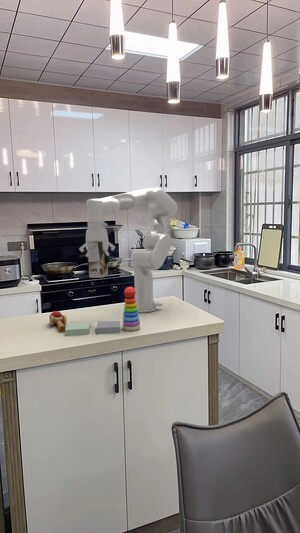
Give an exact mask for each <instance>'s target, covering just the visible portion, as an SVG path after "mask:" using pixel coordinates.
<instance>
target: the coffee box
mask: <svg viewBox="0 0 300 533" xmlns="http://www.w3.org/2000/svg"><path fill="white" fill-rule="evenodd" d="M87 252H88V261H89V265H88V277H89V278H92V279H93V278H94V279H95V278H97V279H98V278H100V279H101V278H104V277H105V276H108V275H109V272H108V271H109V268H108V267H109V266H108V265H109V264H108V265H107V264H106V253H105V252H104V250H103V242H88V251H87Z"/></svg>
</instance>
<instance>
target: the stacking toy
mask: <svg viewBox="0 0 300 533" xmlns="http://www.w3.org/2000/svg"><path fill="white" fill-rule="evenodd" d="M123 294H124V296H125V298H124V304H123V306H124V307H123V317H122V320H123V321H122V329H123V330H124V331H128V332H133V331H137V330H140V329H141V324H140V323H141V320H140V316H139V312H138V311H137V309H138V308H137V307H136V306H137V303H136V298H135V294H136V291H135V287H133V286H128V287H125V289H124V291H123Z"/></svg>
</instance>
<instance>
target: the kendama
mask: <svg viewBox="0 0 300 533" xmlns="http://www.w3.org/2000/svg"><path fill="white" fill-rule="evenodd" d="M66 324H67V315H66V314H62V313H61V312H60V311H57V310H55V311H52V312H51V313H50V314H49V325H50V326H54V325H57V328H58V331H59V332H61V333H65V329H66V327H67V325H66Z"/></svg>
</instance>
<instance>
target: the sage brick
mask: <svg viewBox="0 0 300 533" xmlns="http://www.w3.org/2000/svg"><path fill="white" fill-rule="evenodd" d="M91 325H92V322H91V321H89V322H88V321H87V322H85V321H84V322H68V323H67V325H66V326H65V327H66V329H65V331H64V334H65V337H67V336H68V337H69V336H70V337H71V336H84V335H85V336H87V335H88V336H89V335H91V334H90V333H91V330H92V326H91Z"/></svg>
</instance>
